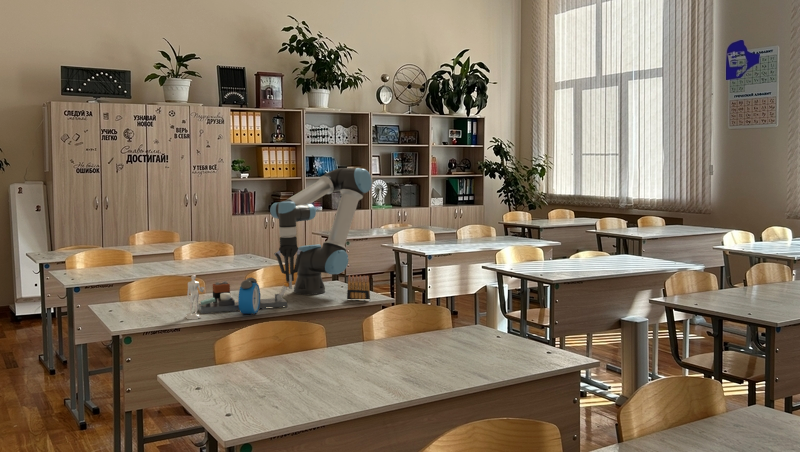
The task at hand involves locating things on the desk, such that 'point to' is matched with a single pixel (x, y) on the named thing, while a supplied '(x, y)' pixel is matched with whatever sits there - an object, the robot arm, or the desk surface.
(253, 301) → the alarm clock
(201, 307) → the panel
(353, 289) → the ammunition clip
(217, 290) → the battery
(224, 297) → the button
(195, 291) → the figurine
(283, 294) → the lever
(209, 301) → the block
